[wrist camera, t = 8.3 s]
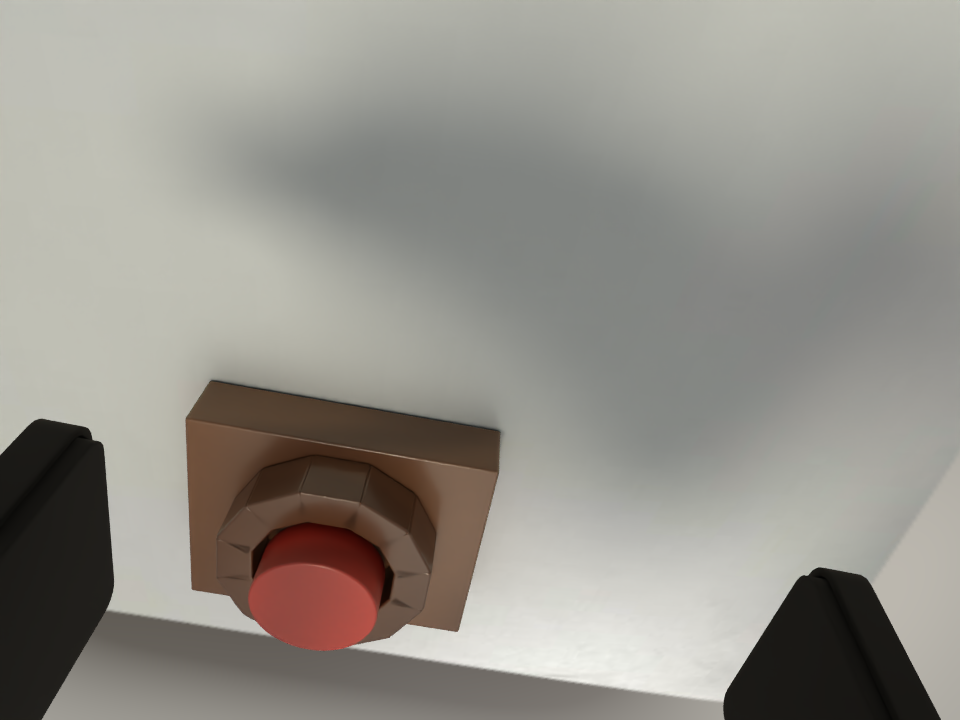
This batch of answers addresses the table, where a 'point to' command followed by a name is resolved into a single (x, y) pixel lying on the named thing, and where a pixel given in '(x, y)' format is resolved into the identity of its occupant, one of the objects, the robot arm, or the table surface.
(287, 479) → the button housing
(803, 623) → the robot arm
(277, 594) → the red push button
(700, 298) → the table surface
